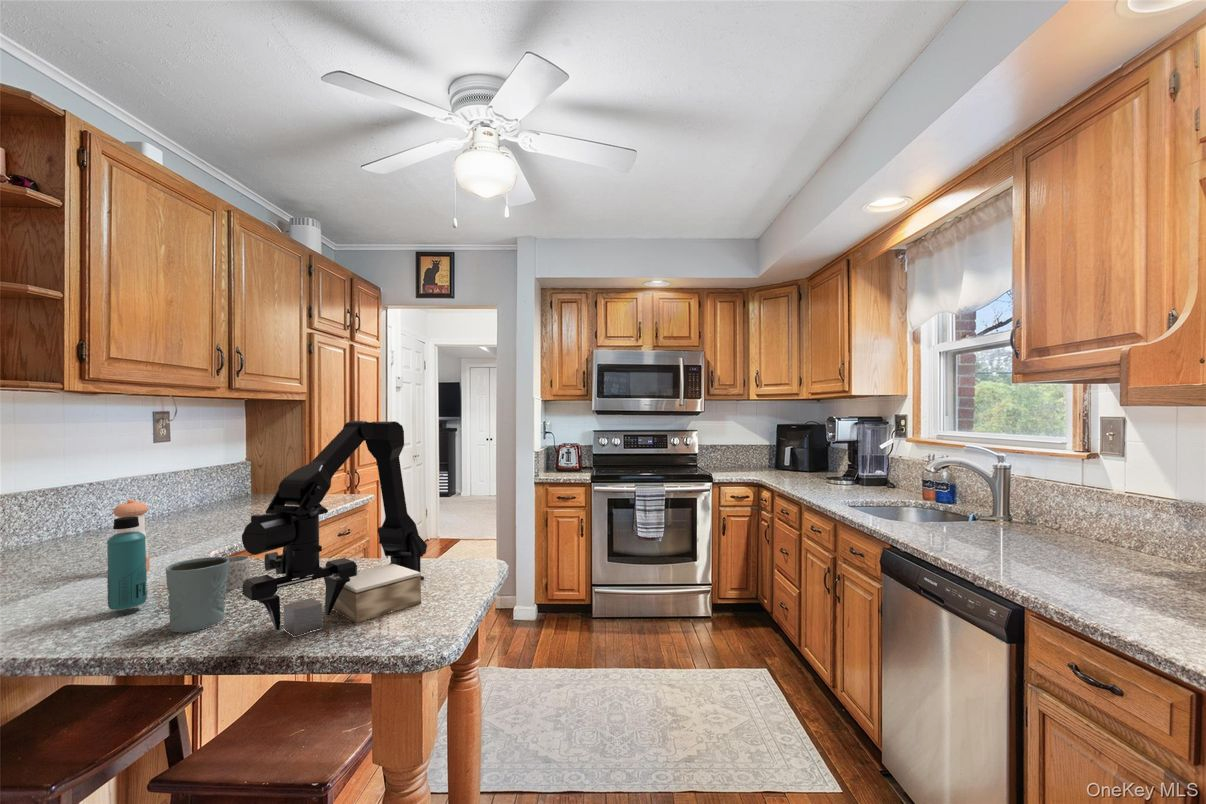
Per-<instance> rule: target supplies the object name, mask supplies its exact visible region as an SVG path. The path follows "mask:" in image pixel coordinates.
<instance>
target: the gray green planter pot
mask: <svg viewBox="0 0 1206 804" xmlns="http://www.w3.org/2000/svg"><path fill="white" fill-rule="evenodd" d="M228 568H229V559H228V558H226V557H225V556H224V557H222V556H212V557H211V556H209V557H200V558H192V559H187V560H186V559H185V560H182V561H179V562H175V563H173V564H169V565H167V566H166V567H165V575H166V588H167V591H168V596H167V599H168V601H167V602H168V609H169V611H170V612H169V617H168V618H169V628H170V631H171V630H172V631H171V632H173V633H177V632H179V633H181V632H184V633H190V632H191V631H193V632H197V630H198V631H201V630H200V629H202V630H204V629H203V628H206V627H209V626H212V625H214V624H217V623H218V622H220V621H222V620H224V618H225V608H226V605H225V600H226V597H227V596H226V595H227V591H226V588H227V587H226V583H227V578H228ZM222 622H223V621H222ZM220 623H221V622H220ZM217 625H218V624H217ZM212 627H213V626H212ZM209 628H210V627H209ZM206 629H207V628H206ZM191 633H192V632H191Z"/></svg>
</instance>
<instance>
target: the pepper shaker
mask: <svg viewBox="0 0 1206 804" xmlns="http://www.w3.org/2000/svg"><path fill="white" fill-rule="evenodd" d="M148 511H149V507H148V504H147V503H145V502H142V501H136V500H135V499H134V498H133V499H132V498H131V499H128V500H127V501H126V502H123V503H120V504H118V505H116V506H115V507H114V508H113V515H114V516H115V517H117V518H122V517H131V516H136V517H138V520H139V526H138V527H134V528H127V529H116V531H117V533H116V534H118V533H123V532H133V531H138V532H141V533H142V534H144V535H145V536H146V539H145V543H146V557H147V558H146V572H147V571H149V570H150V556H149V555H148V551H149V549H148V546H149V544H148V539H147V533H146V527H145V525H146V521H145V514H147V513H148ZM117 518H116V519H117Z"/></svg>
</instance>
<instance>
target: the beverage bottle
mask: <svg viewBox="0 0 1206 804" xmlns="http://www.w3.org/2000/svg"><path fill="white" fill-rule="evenodd" d="M138 526H139V520H138V517H136V516H131V517H122V518H115V519H114V521H113V526H112V527H113V530H117V529H127V528H134V527H138ZM146 538H147V535H146V536H145V535H144V534H142V533H141V532H138V531H133V532H123V533H118V534H117V533H115V534H113V535H112V536H111V537H110V538H108V539H107V541H106V545H107V548H106V549H107V553H106V554H107V556H106V557H107V571H106V578H107V579H106V580H107V581H106V583H107V585H106V588H107V589H106V590H107V594H106V597H107V600H106V602H107V603H106V605H107V607H108V609H110V610H113V611H115V610H116V611H117V610H125V609H131V608H134V607H138V606H141V605H143V604H145V603H146V602H147V600H148V593H149V592H148V591H149V590H148V583H147V582H148V579H147V574H148V572H147V571H146V558H147V557H146V543H145V539H146Z"/></svg>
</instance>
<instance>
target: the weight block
mask: <svg viewBox="0 0 1206 804" xmlns="http://www.w3.org/2000/svg"><path fill="white" fill-rule="evenodd" d="M320 628H322V629H323V603H322V602H320V601H318V600H316V599H315V598H313V597H310V598H305V599H302V600H299V601H294V602H290V603H287V604H283V630H284V629H285V630H286V631H287V632H289V633H290V634H292V635H293V636H298V635H301V634H304V633H307V632H310V631H313V630H317V629H320ZM317 631H318V630H317ZM287 632H286V633H287ZM304 635H305V634H304ZM301 636H302V635H301ZM298 637H299V636H298Z"/></svg>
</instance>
